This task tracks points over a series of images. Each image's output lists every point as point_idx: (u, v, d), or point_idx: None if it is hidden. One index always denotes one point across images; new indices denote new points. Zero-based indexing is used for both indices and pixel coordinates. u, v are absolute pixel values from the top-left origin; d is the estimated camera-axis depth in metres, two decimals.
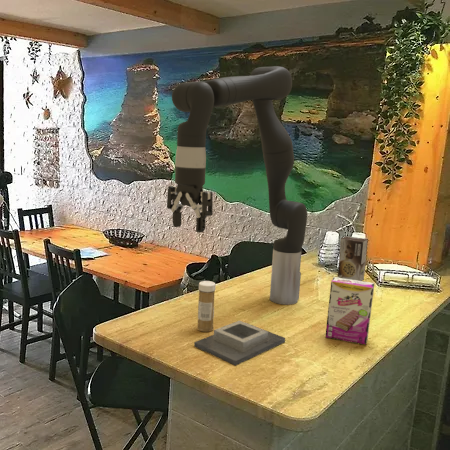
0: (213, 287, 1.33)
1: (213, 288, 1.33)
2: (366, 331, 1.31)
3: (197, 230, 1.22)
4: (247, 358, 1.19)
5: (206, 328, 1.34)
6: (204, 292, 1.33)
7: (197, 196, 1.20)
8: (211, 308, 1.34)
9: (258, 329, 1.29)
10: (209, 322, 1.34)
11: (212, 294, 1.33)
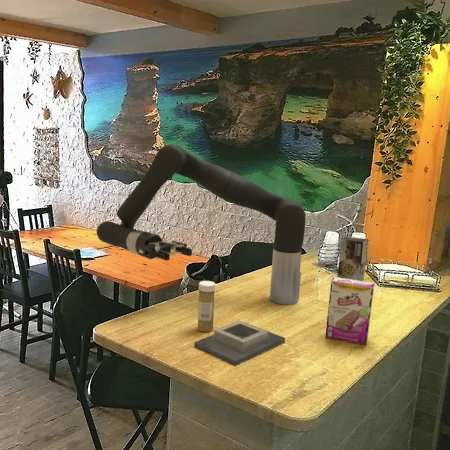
0: (213, 287, 1.33)
1: (213, 288, 1.33)
2: (366, 331, 1.31)
3: None
4: (247, 358, 1.19)
5: (206, 328, 1.34)
6: (204, 292, 1.33)
7: None
8: (211, 307, 1.34)
9: (258, 329, 1.29)
10: (209, 322, 1.34)
11: (212, 294, 1.33)
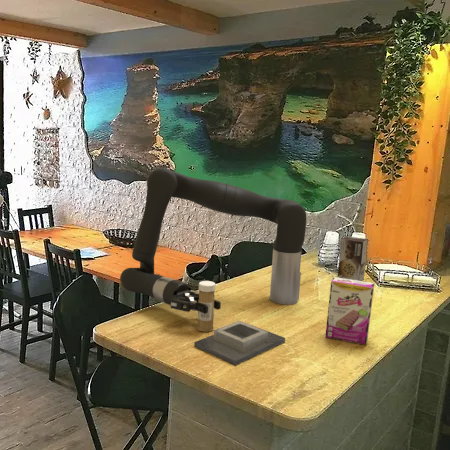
0: (213, 287, 1.33)
1: (213, 288, 1.33)
2: (366, 331, 1.31)
3: None
4: (247, 358, 1.19)
5: (206, 328, 1.34)
6: (204, 292, 1.33)
7: None
8: (211, 307, 1.34)
9: (258, 329, 1.29)
10: (209, 322, 1.34)
11: (212, 294, 1.33)
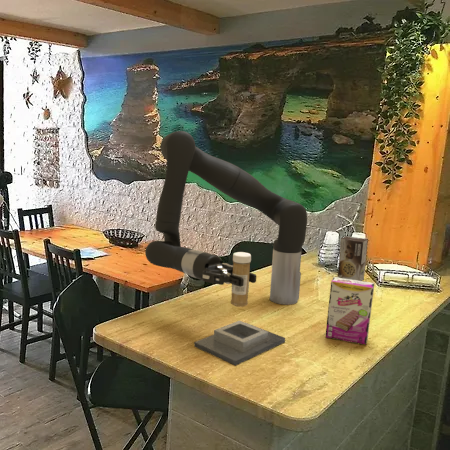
0: (249, 258, 1.23)
1: (249, 259, 1.23)
2: (366, 331, 1.31)
3: (240, 286, 1.22)
4: (247, 358, 1.19)
5: (240, 303, 1.25)
6: (239, 263, 1.23)
7: None
8: (246, 280, 1.24)
9: (258, 329, 1.29)
10: (244, 296, 1.25)
11: (247, 266, 1.24)
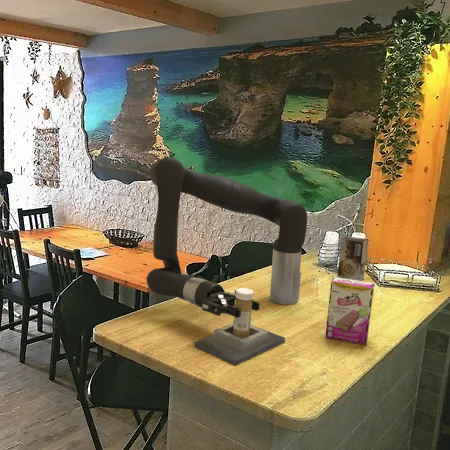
0: (252, 295, 1.24)
1: (251, 296, 1.24)
2: (366, 331, 1.31)
3: (237, 317, 1.23)
4: (247, 358, 1.19)
5: None
6: (242, 300, 1.24)
7: None
8: (249, 317, 1.25)
9: (258, 329, 1.29)
10: (246, 332, 1.26)
11: (250, 303, 1.25)
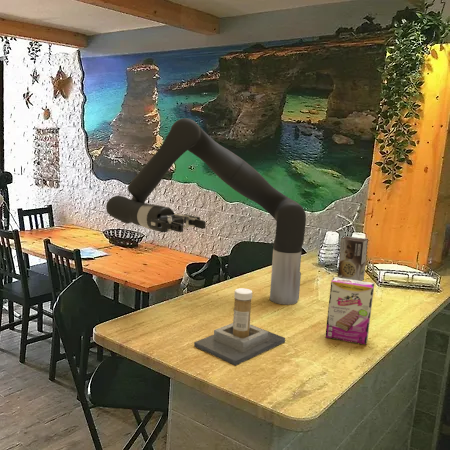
0: (250, 295, 1.24)
1: (250, 296, 1.24)
2: (366, 331, 1.31)
3: (180, 231, 1.33)
4: (247, 358, 1.19)
5: None
6: (240, 300, 1.24)
7: None
8: (248, 317, 1.25)
9: (258, 329, 1.29)
10: (245, 332, 1.26)
11: (249, 302, 1.25)
